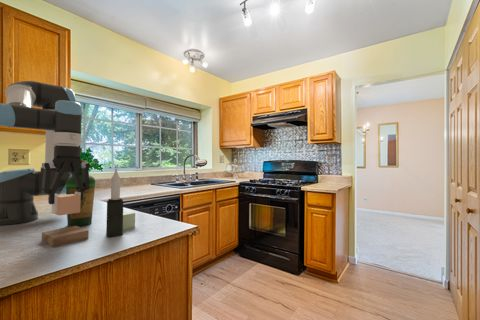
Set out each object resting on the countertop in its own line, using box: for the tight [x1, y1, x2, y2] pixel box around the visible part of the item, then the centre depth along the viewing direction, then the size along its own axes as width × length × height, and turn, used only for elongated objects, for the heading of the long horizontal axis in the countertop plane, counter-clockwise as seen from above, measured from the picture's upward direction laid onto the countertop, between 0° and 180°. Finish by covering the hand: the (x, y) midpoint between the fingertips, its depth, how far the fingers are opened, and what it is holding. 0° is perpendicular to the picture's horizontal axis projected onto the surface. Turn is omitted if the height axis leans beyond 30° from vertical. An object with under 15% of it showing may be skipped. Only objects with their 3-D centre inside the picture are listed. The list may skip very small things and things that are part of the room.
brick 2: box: [123, 210, 136, 230], centre depth 94 cm, size 6×6×6 cm
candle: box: [105, 168, 124, 238], centre depth 84 cm, size 5×5×25 cm
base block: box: [41, 226, 90, 248], centre depth 78 cm, size 10×10×3 cm
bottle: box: [65, 159, 96, 227], centre depth 97 cm, size 11×11×28 cm
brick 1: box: [55, 194, 81, 216], centre depth 78 cm, size 6×6×6 cm
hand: (66, 211), depth 78 cm, fingers closed on brick 1, 6 cm apart
